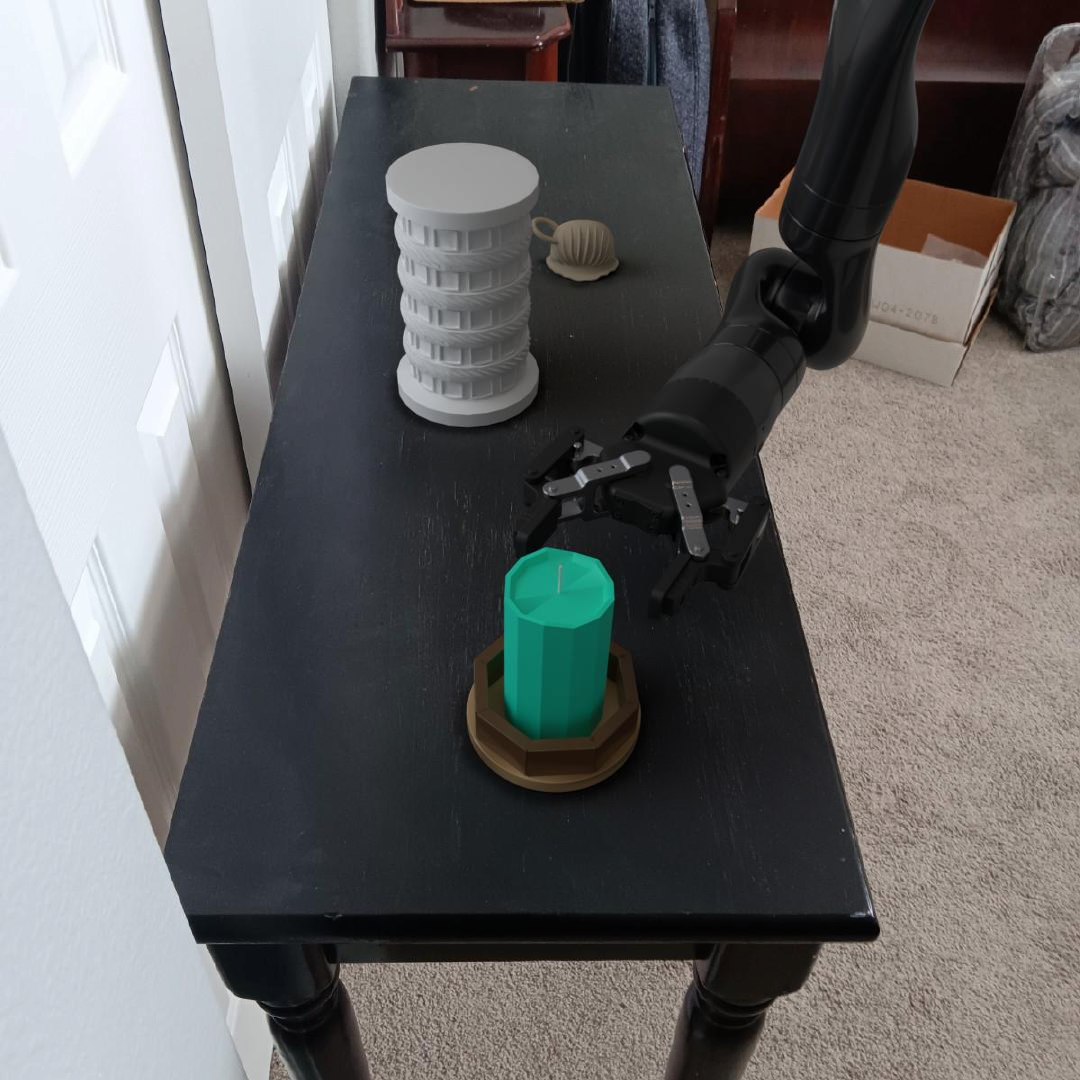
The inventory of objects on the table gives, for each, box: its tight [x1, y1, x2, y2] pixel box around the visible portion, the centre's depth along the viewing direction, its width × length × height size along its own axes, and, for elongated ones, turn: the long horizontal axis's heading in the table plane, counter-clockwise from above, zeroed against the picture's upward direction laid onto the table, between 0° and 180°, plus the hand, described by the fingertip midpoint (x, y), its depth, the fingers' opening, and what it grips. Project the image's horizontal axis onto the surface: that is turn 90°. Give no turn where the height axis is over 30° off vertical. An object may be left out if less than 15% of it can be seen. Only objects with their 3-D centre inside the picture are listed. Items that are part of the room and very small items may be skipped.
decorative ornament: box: [531, 216, 620, 283], centre depth 100 cm, size 4×8×5 cm, turn 88°
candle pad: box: [466, 633, 642, 793], centre depth 64 cm, size 10×10×4 cm
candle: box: [503, 546, 616, 740], centre depth 60 cm, size 6×6×12 cm
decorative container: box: [385, 142, 540, 428], centre depth 82 cm, size 12×12×18 cm
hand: (585, 579), depth 60 cm, fingers open, 8 cm apart
